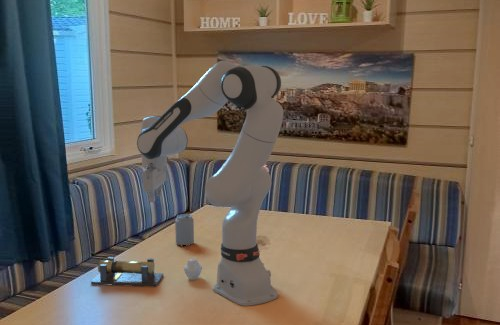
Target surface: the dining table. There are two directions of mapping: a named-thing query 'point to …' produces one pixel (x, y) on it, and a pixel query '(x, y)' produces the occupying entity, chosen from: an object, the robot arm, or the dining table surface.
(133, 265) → the tube
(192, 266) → the light grey rounded piece
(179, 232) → the can
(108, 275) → the stand
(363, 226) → the dining table surface
